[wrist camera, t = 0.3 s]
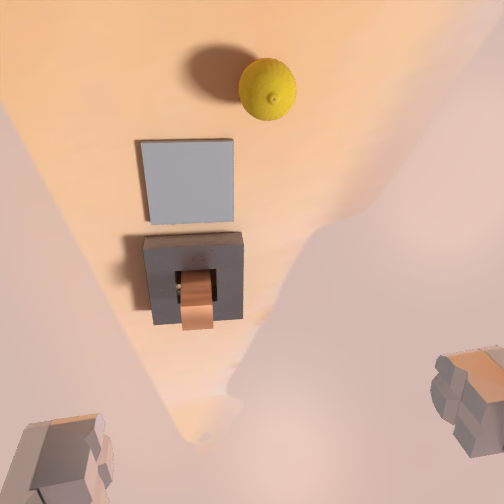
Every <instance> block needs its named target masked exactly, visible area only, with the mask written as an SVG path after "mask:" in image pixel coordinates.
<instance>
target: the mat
mask: <svg viewBox="0 0 504 504" xmlns="http://www.w3.org/2000/svg"><path fill="white" fill-rule="evenodd" d="M141 150H142V158H143V166H144V174H145V182H146V189H147V197H148V205H149V213H150V221H151V225H164V224H187V223H211V222H234V141H233V139H215V140H162V141H141Z"/></svg>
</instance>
